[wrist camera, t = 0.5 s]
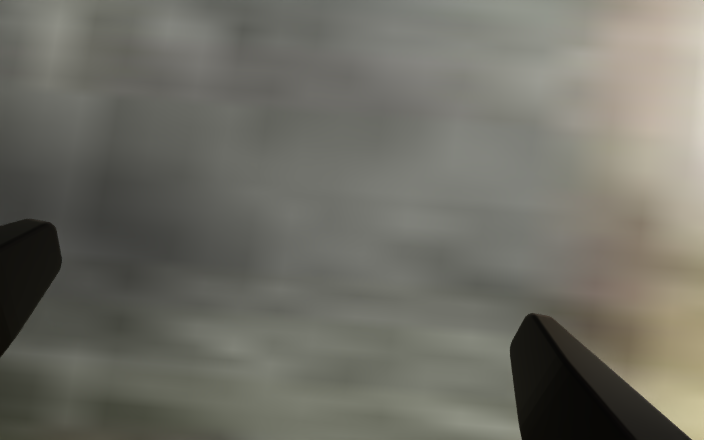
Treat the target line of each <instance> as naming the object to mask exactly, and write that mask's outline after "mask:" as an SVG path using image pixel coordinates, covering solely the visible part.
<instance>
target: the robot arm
mask: <svg viewBox="0 0 704 440" xmlns="http://www.w3.org/2000/svg"><path fill="white" fill-rule="evenodd" d="M61 264H62V257H61V251H60V246H59V241H58V236H57V231H56V228H55V226H54V225H53V224H51V223H50V222H45V221H40V220H35V219H24V220H20V221H17V222H13V223H10V224H6V225H3V226H0V357H1V356H2V355H3V354H4V352H5V351H6V350H7V348H8V347H9V346H10V344H11V343H12V342H13V340H14V339H15V338H16V336H17V335H18V333H19V332H20V330H21V329H22V327H23V326H24V324H25V323H26V321H27V320H28V318H29V317H30V315H31V314H32V312H33V311H34V309H35V307H36V306H37V304H38V303H39V301H40V300H41V298H42V297H43V295H44V294H45V292H46V291H47V289H48V288H49V286H50V284H51V283H52V281H53V280H54V278H55V277H56V275H57V274H58V272H59V270H60V267H61ZM510 359H511V367H512V375H513V383H514V391H515V399H516V407H517V415H518V421H519V428H520V433H521V437H522V440H692V439H691V438H689V437H688V436H687V435H686V434H685V433H684V432H683V431H681V430H680V429H679V428H678V427H677V426H676V425H675V424H673V423H672V422H671V421H670V420H669V419H668V418H667V417H665V416H664V415H663V414H662V413H661V412H660V411H659V410H657V409H656V408H655V407H654V406H653V405H652V404H651V403H649V402H648V401H647V400H646V399H645V398H644V397H643V396H641V395H640V394H639V393H638V392H637V391H636V390H634V389H633V388H632V387H631V386H630V385H629V384H628V383H626V382H625V381H624V380H623V379H622V378H621V377H620V376H618V375H617V374H616V373H615V372H614V371H613V370H612V369H610V368H609V367H608V366H607V365H606V364H605V363H604V362H602V361H601V360H600V359H599V358H598V357H597V356H596V355H594V354H593V353H592V352H591V351H590V350H589V349H588V348H586V347H585V346H584V345H583V344H582V343H581V342H580V341H578V340H577V339H576V338H575V337H574V336H573V335H572V334H570V333H569V332H568V331H567V330H566V329H565V328H564V327H562V326H561V325H560V324H559V323H558V322H557V321H556V320H554V319H553V318H552V317H550V316H546V315H541V314H535V313H530V314H528V315H527V316H526V317H525V318H524V320H523V322H522V324H521V326H520V327H519V329H518V331H517V333H516V335H515V336H514V338H513V340H512V342H511V346H510Z"/></svg>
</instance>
